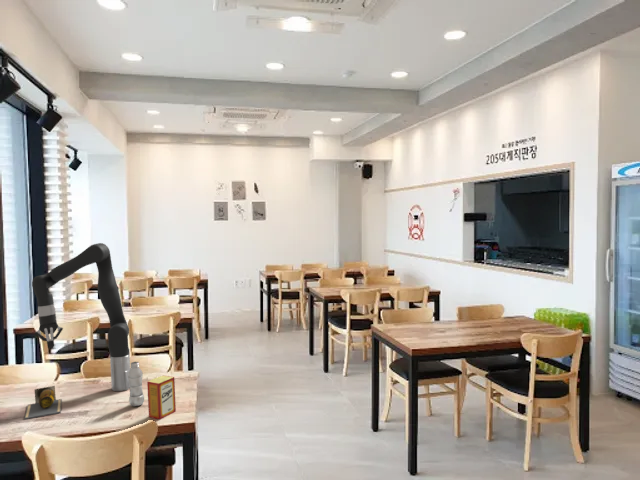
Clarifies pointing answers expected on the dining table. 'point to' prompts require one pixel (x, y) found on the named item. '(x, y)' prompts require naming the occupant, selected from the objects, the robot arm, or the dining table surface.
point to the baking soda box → (161, 397)
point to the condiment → (45, 396)
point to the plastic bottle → (135, 385)
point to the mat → (42, 410)
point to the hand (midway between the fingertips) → (51, 348)
